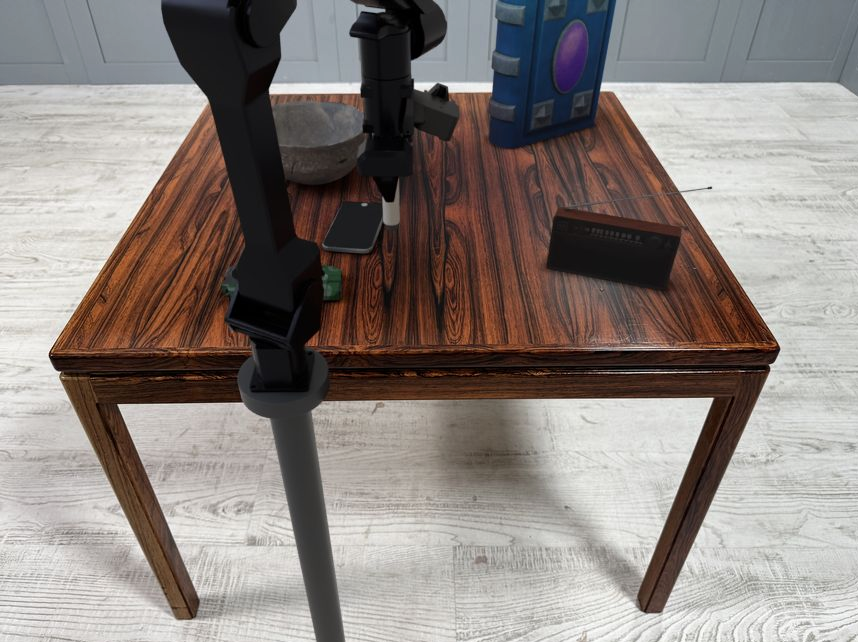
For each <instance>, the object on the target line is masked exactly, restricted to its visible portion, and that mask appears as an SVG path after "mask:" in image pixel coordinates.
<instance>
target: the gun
mask: <svg viewBox="0 0 858 642" xmlns="http://www.w3.org/2000/svg"><path fill="white" fill-rule="evenodd" d="M321 265H322V269H323V270H324V272H325V276H321V277H322V280H323V287H324V299H323V301H340V299H342V296H343V277H344V276H343V270H342V269H341V268H338V267H336V266H332V265H328V264H321ZM224 275H225V276H224V278H225V280H222V281H221V282H222V283H221V284H220V287H221V293H222V295H225V298H226V299H230V300H231V298H232V296H233V293H234V290H235V287H236V284H237V282H238V279H237V271H236V264H233V265H232V266H230V267H229V268H228V269H227V271H226V272H225V274H224Z"/></svg>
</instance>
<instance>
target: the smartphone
mask: <svg viewBox="0 0 858 642" xmlns="http://www.w3.org/2000/svg"><path fill="white" fill-rule="evenodd" d="M383 224H384V222H383V202H382V203H380V202H367V201H365V202H364V201H351V200H350V201H349V200H348V201H344V202H342V203H341V205H340V207H339V209H338V210H337V213H336V214H335V217H334V219H333V221H332V223H331V225H330V227H329V229H328V230H327V232H326V235H325V237H324V239H323V241H322V243H321V247H322V249H323V250H324V251H327V252H338V253H339V252H340V253H350V254H351V253H353V254H368V253H369V254H370V253H371V252H372V251H373V250H374V247H375V245H376V242H377V239H378V237H379V234H380V231H381V228H382V225H383Z"/></svg>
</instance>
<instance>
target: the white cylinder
mask: <svg viewBox="0 0 858 642" xmlns="http://www.w3.org/2000/svg"><path fill="white" fill-rule="evenodd" d="M381 196H382V195H381ZM381 198H382V200H381V201H382V204H383V224H384V225H385V230H387V231H388V232H394V231H395V232H396V231H397V230H398V228H399V224H400V221H401V212H400V209H401V208H400V178H399V179H398V184H397V189H396V195H395V200H394V202H393V203H387V202H385V200H384V198H383V196H382V197H381Z"/></svg>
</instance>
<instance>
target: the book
mask: <svg viewBox="0 0 858 642" xmlns="http://www.w3.org/2000/svg"><path fill="white" fill-rule="evenodd" d="M616 5H617V0H496V2H495V11H494V12H495V13H494V18H495V19H496V20H497V22H496V35H495V48H494V50H493V51H492V53H491V65H490V68H491V69H492V70H493V74H492V75H493V77H492V89H491V95H490V97H489V98H488V109H487V113H488V114H489V129H488V141H489V143H491V144H492V145H494V146H496V147H499V148H501V149H508V150H515V149H518V148H522V147H525V146H527V145H528V146H529V145H532V144H535V143H539V142H542V141H546V140H549V139H553V138H556V137H559V136H564V135H568V134H571V133H574V132H578V131H580V130H581V131H582V130H585V129H588V128H591V127H594V126H595V121H596V116H597V110H598V105H599V100H600V93H601V89H602V83H603V78H604V71H605V66H606V61H607V55H608V50H609V44H610V38H611V33H612V27H613V21H614V16H615V10H616Z"/></svg>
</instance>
